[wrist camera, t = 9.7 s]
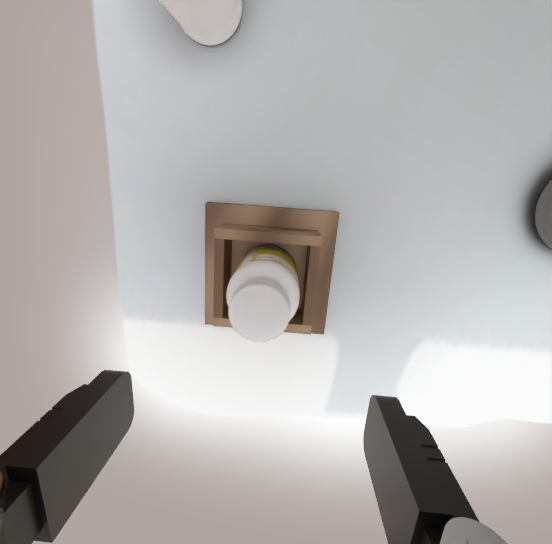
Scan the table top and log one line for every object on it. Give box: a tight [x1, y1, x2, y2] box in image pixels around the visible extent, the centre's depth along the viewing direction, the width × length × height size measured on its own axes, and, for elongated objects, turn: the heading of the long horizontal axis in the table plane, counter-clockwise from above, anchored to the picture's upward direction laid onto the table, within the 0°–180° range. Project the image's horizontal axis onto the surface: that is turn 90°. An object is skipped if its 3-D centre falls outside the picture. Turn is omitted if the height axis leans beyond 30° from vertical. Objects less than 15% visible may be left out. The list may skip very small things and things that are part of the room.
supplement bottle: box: [226, 244, 300, 342], centre depth 24 cm, size 5×5×10 cm
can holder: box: [205, 202, 339, 334], centre depth 27 cm, size 12×12×5 cm
